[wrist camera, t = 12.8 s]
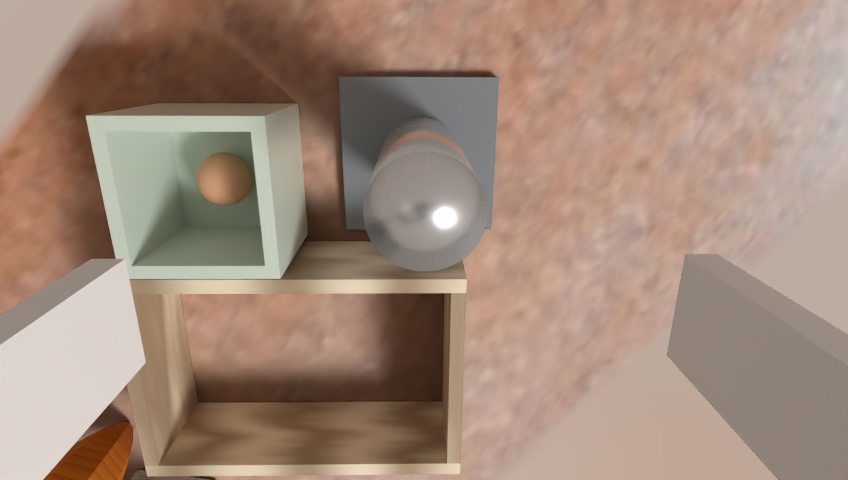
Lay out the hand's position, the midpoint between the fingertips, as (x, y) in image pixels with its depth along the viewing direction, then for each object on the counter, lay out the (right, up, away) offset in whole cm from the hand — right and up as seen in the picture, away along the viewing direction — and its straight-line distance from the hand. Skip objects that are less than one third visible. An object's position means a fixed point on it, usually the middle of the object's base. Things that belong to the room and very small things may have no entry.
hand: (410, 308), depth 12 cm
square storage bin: (-11, +6, +19) cm, 22 cm away
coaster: (0, +7, +19) cm, 20 cm away
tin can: (0, +7, +18) cm, 19 cm away
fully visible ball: (-11, +6, +18) cm, 22 cm away
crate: (-7, -5, +22) cm, 24 cm away
